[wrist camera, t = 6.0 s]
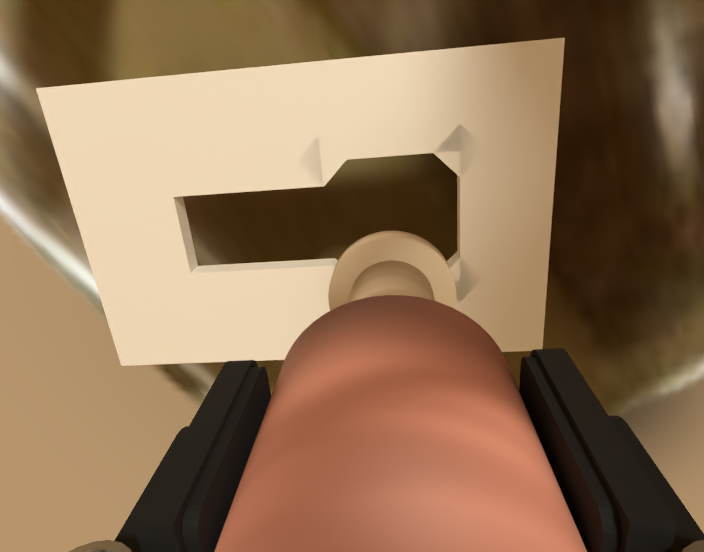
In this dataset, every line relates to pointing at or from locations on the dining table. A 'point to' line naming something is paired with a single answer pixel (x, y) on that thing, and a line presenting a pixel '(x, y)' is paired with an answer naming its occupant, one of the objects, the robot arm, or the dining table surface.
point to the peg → (397, 427)
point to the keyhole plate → (305, 186)
